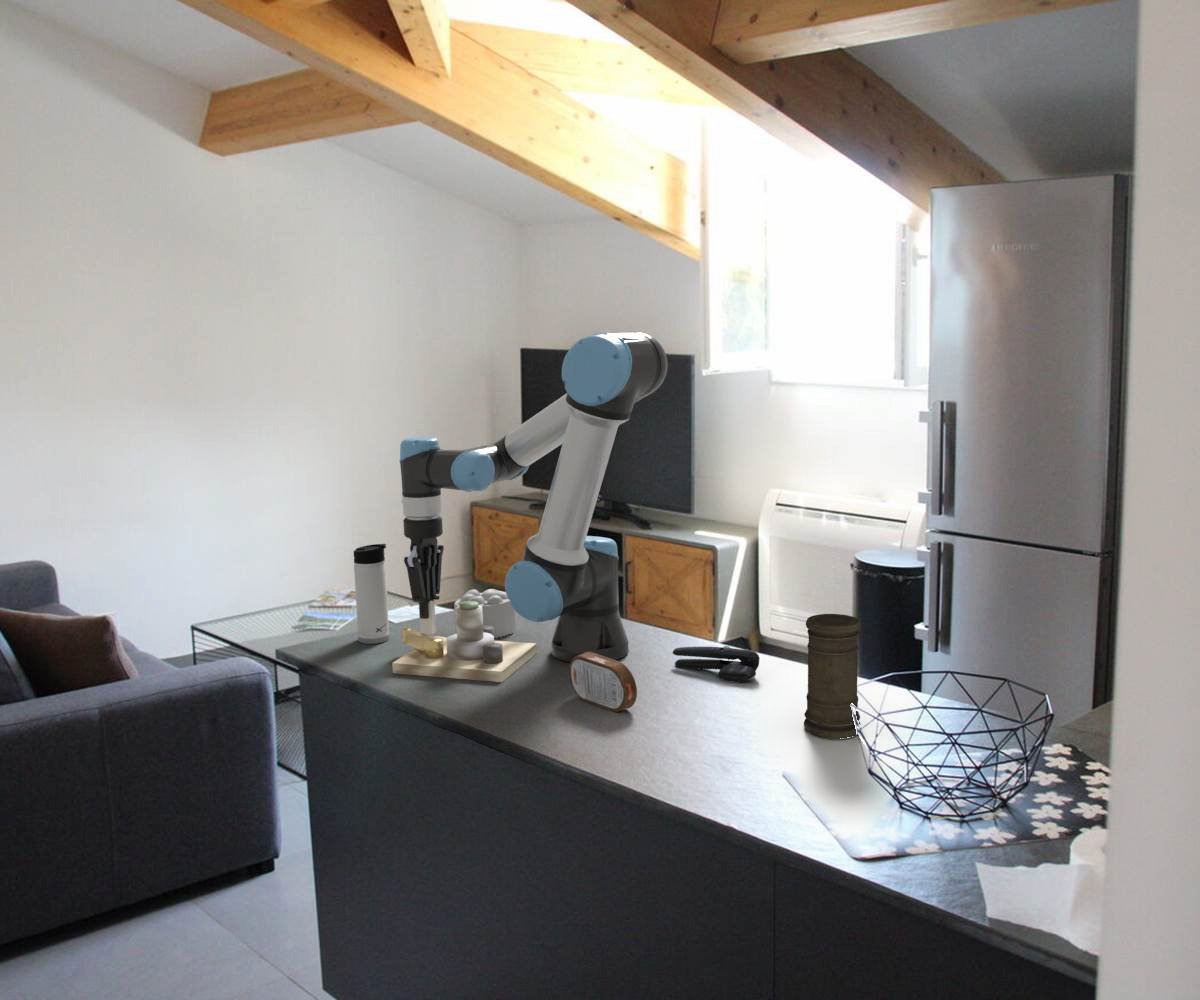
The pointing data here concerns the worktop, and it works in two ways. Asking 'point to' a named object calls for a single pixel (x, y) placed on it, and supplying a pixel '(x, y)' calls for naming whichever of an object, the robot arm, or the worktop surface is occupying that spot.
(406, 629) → the brass ball lever
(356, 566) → the travel mug
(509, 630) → the paw-shaped mold
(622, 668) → the tin
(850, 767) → the worktop surface
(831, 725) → the container
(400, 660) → the base
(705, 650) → the can opener
